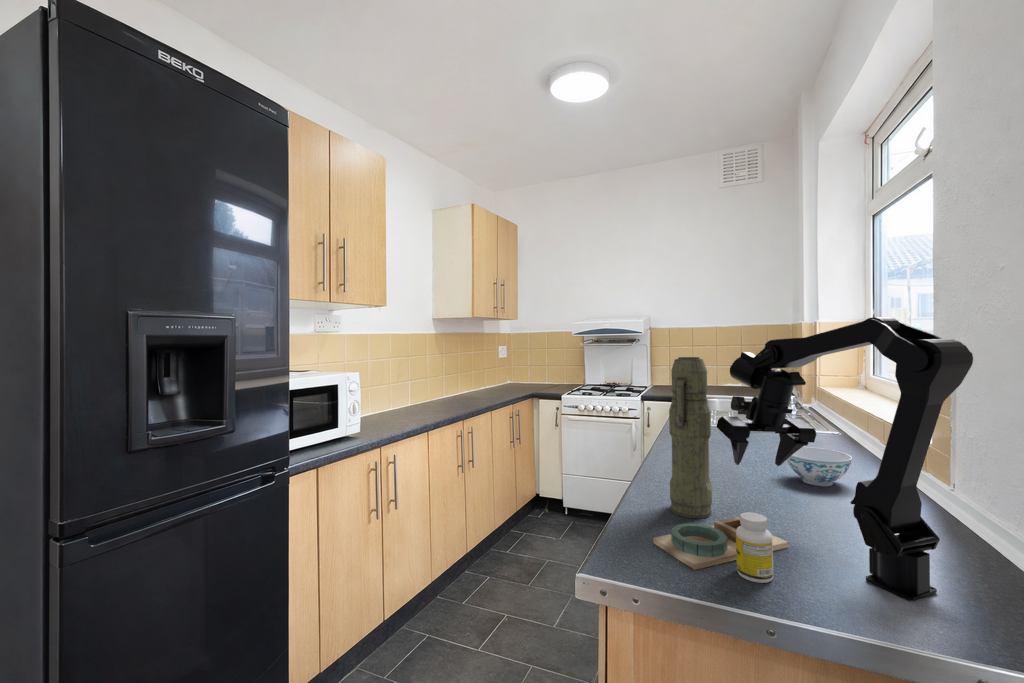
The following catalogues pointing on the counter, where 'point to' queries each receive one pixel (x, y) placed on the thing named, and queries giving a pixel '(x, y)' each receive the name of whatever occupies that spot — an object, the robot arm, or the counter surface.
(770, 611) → the counter surface
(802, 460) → the chinaware
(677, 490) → the thermos
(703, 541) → the socket board
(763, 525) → the supplement bottle
